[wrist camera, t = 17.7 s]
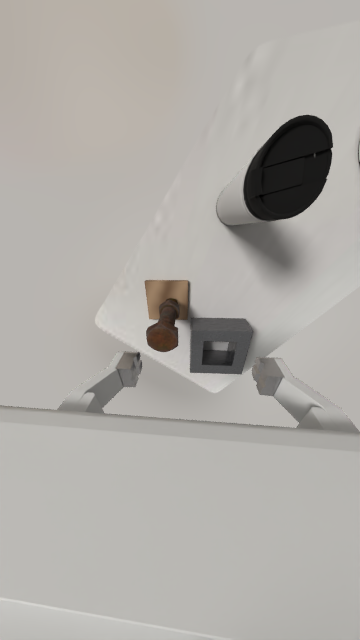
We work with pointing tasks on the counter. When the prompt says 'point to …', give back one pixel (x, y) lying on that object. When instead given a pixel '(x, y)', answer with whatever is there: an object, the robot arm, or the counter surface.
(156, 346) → the bolt
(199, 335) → the socket block
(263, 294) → the counter surface
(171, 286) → the walnut pad
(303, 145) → the travel mug
